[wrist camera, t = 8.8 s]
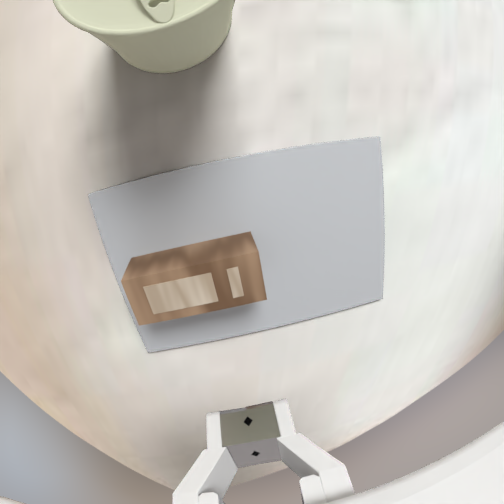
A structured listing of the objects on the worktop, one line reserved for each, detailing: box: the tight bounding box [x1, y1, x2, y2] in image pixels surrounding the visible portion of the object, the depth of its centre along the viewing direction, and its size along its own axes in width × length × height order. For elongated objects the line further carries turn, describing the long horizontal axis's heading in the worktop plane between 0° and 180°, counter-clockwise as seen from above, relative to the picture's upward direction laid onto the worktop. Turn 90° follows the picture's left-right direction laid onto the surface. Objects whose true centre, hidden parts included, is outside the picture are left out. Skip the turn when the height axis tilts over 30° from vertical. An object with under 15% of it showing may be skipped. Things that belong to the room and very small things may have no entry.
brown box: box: [121, 231, 267, 326], centre depth 24 cm, size 4×4×10 cm
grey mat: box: [88, 137, 385, 352], centre depth 27 cm, size 24×16×1 cm, turn 100°
